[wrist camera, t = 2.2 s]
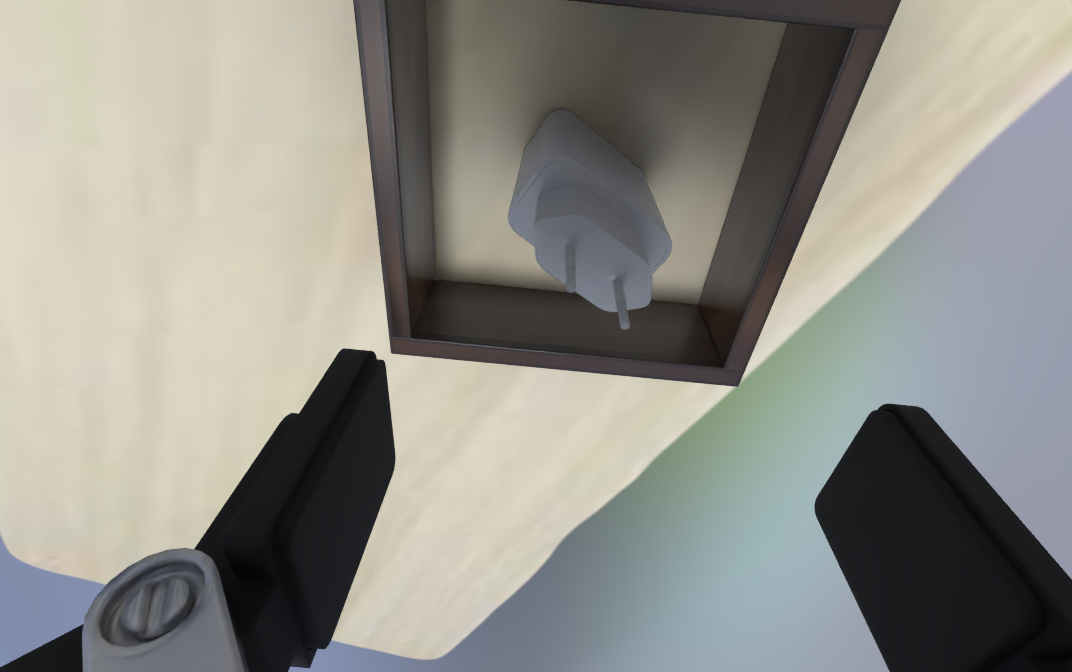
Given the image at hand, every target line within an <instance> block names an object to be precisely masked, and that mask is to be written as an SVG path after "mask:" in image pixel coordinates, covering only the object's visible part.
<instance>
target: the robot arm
mask: <svg viewBox="0 0 1072 672" xmlns="http://www.w3.org/2000/svg"><path fill="white" fill-rule="evenodd" d="M394 467H395V447H394V438H393V429H392V420H391V411H390V401H389V392H388V383H387V374H386V366H385V362H384V360H378V359H376V355H375V353H374V352H373V351H365V350H355V349H345V348H344V349H342V350H341V351H340V352H339V353H338V354H337V356H336V358H335V359H334V361H333V362H332V364H331V365H330V367H329V368H328V370H327V371H326V373H325V374H324V376H323V378H322V379H321V381H320V382H319V384H318V385H317V387H316V388H315V390H314V391H313V393H312V395H311V396H310V398H309V399H308V401H307V402H306V404H305V405H304V407H303V408H302V410H301V411H300V413H299V414H297V413H291V414H289V415H287V416H286V417H285V418H284V419H283V420H282V421H281V422H280V424H279V425H278V427H277V428H276V430H275V431H274V433H273V434H272V436H271V437H270V439H269V440H268V441H267V443H266V444H265V446H264V447H263V449H262V450H261V452H260V453H259V455H258V456H257V458H256V459H255V461H254V462H253V464H252V465H251V467H250V468H249V469H248V471H247V472H246V474H245V475H244V477H243V478H242V480H241V481H240V483H239V484H238V486H237V487H236V489H235V490H234V492H233V493H232V494H231V496H230V497H229V499H228V500H227V502H226V503H225V505H224V506H223V508H222V509H221V511H220V512H219V514H218V515H217V517H216V518H215V519H214V521H213V522H212V524H211V525H210V527H209V528H208V530H207V531H206V533H205V534H204V536H203V537H202V539H201V540H200V542H199V543H198V544H197V546H196V547H195V549H194V550H193V549H188V548H181V549H171V550H165V551H162V552H159V553H156V554H153V555H150V556H147V557H145V558H144V559H142V560H140V561H138V562H136V563H134V564H132V565H131V566H129V567H127V568H126V569H125V570H123V571H122V572H121V573H120V574H118V575H117V576H116V577H115V578H113V579H112V580H111V581H110V582H109V583H108V584H107V585H106V586H105V587H104V589H103V590H102V591H101V592H100V593H99V594H98V595H97V597H95V599H94V601H93V603H92V605H91V606H90V608H89V610H88V612H87V614H86V616H85V620H84V624H83V625H81V626H79V627H77V628H75V629H73V630H71V631H69V632H67V633H65V634H64V635H62V636H60V637H58V638H56V639H54V640H52V641H50V642H48V643H46V644H44V645H42V646H41V647H39V648H37V649H35V650H33V651H31V652H29V653H27V654H25V655H23V656H21V657H20V658H18V659H16V660H14V661H12V662H10V663H8V664H6V665H4V666H2V667H0V672H288V670H289V668H290V666H292V667H303V668H310V666H311V664H312V661H313V658H314V656H315V653H316V651H317V649H326V647H327V646H328V645H329V643H330V641H331V639H332V636H333V634H334V631H335V628H336V626H337V623H338V620H339V618H340V615H341V612H342V610H343V607H344V604H345V601H346V599H347V596H348V593H349V591H350V588H351V585H352V583H353V580H354V577H355V575H356V572H357V569H358V566H359V564H360V561H361V558H362V556H363V553H364V550H365V548H366V545H367V542H368V539H369V537H370V534H371V531H372V529H373V526H374V523H375V521H376V518H377V515H378V512H379V510H380V507H381V504H382V502H383V499H384V496H385V494H386V491H387V488H388V485H389V483H390V480H391V477H392V475H393V471H394ZM815 514H816V517H817V519H818V521H819V523H820V526H821V528H822V530H823V532H824V534H825V536H826V538H827V540H828V542H829V545H830V547H831V549H832V551H833V553H834V555H835V557H836V559H837V561H838V563H839V566H840V568H841V570H842V572H843V574H844V576H845V578H846V580H847V582H848V585H849V587H850V589H851V591H852V593H853V595H854V597H855V599H856V601H857V604H858V606H859V608H860V610H861V612H862V614H863V616H864V618H865V620H866V623H867V625H868V627H869V629H870V631H871V633H872V635H873V637H874V639H875V641H876V643H877V646H878V648H879V650H880V652H881V654H882V656H883V658H884V660H885V662H886V665H887V667H888V669H889V671H890V672H1072V579H1071V578H1070V577H1069V576H1068V575H1067V574H1066V573H1065V571H1064V570H1063V569H1062V568H1061V567H1060V565H1059V564H1058V563H1057V562H1056V561H1055V560H1054V559H1053V558H1052V556H1051V555H1050V554H1049V553H1048V552H1047V550H1046V549H1045V548H1044V547H1043V546H1042V545H1041V544H1040V542H1039V541H1038V540H1037V539H1036V538H1035V536H1034V535H1033V534H1032V533H1031V532H1030V531H1029V530H1028V528H1027V527H1026V526H1025V525H1024V524H1023V523H1022V521H1021V520H1019V518H1018V517H1017V516H1016V514H1015V513H1014V512H1013V511H1012V510H1011V509H1010V507H1009V506H1008V505H1007V504H1006V503H1005V502H1004V501H1003V500H1002V498H1001V497H1000V496H999V495H998V494H997V492H996V491H995V490H994V489H993V488H992V487H991V486H990V484H989V483H988V482H987V481H986V480H985V478H984V477H983V476H982V475H981V474H980V473H979V472H978V470H977V469H976V468H975V467H974V466H973V465H972V463H970V461H969V460H968V459H967V458H966V456H965V455H964V454H963V453H962V452H961V451H960V449H959V448H958V447H957V446H956V445H955V444H954V443H953V442H952V440H951V439H950V438H949V437H948V436H947V434H946V433H945V432H944V431H943V430H942V429H941V427H940V426H939V425H938V424H937V423H936V422H935V421H934V419H933V418H932V417H931V416H930V415H929V413H928V412H926V411H925V410H924V409H923V408H920V407H916V406H907V405H897V404H884V405H882V406H881V407H879V409H878V410H875V411H873V412H871V413H870V414H869V416H868V417H867V419H866V421H865V422H864V424H863V425H862V427H861V428H860V430H859V431H858V433H857V435H856V436H855V438H854V439H853V441H852V442H851V444H850V446H849V447H848V449H847V450H846V452H845V454H844V455H843V457H842V458H841V460H840V462H839V463H838V465H837V467H836V468H835V469H834V471H833V473H832V474H831V476H830V477H829V479H828V481H827V482H826V484H825V485H824V487H823V488H822V490H821V492H820V493H819V495H818V497H817V498H816V501H815Z"/></svg>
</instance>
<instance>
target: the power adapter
mask: <svg viewBox="0 0 1072 672" xmlns="http://www.w3.org/2000/svg"><path fill="white" fill-rule="evenodd" d="M508 219H509V223H510V226H511V227H512V229H513V230H514V231H515V232H516V233H517V234H518V235H519V236H521V237H522V238H524V239H525V240H526V241H528V242H529V243H531V244H532V245H534V246H535V254H536V259H537V262H538V263H539V265H540V266H541V268H543V269H544V270H545V271H546V272H547V273H549V274H550V275H552V276H553V277H555V278H556V279H558V280H559V281H560V282H562V283H563V284H565V285H566V290H567V292H569V293H573V292H576V293H578V294H579V295H581V296H582V297H584V298H585V299H587V300H588V301H590V302H591V303H592V304H594V305H595V306H597V307H598V308H600V309H602V310H605V311H608V312H618V315H619V321H620V327H621V328H622V329H624V330H626V329H629V327H630V322H629V317H628V311H627V310H631V309H638V308H643V307H646V306H647V305H648V304H649V303H650V301H651V290H652V274H653V273H654V272H655V271H656V270H657V269H658V268H659V267H660V266H661V265H662V264H663V263H664V262H665V261H666V260H667V258H668V257H669V255H670V253H671V249H672V242H671V239H670V236H669V234H668V231H667V229H666V227H665V224H664V222H663V219H662V217H661V215H660V212H659V210H658V208H657V205H656V203H655V200H654V198H653V196H652V193H651V191H650V188H649V186H648V184H647V181H646V179H645V176H644V174H643V172H642V171H641V170H640V168H639V167H638V166H636V165H635V164H634V163H633V162H631V161H630V160H629V159H628V158H627V157H625V156H624V155H623V154H622V153H621V152H619V151H618V150H617V149H616V148H615V147H613V146H612V145H611V144H610V143H609V142H607V141H606V140H605V139H604V138H602V137H601V136H600V135H599V134H598V133H596V132H595V131H594V130H593V129H592V128H590V127H589V126H588V125H587V124H586V123H584V122H583V121H582V120H581V119H580V118H578V117H577V116H576V115H575V114H573V113H572V112H570V111H569V110H566V109H557V110H555V111H553V112H551V113H550V114H549V115H548V116H547V117H546V119H545V120H544V122H543V123H542V124H541V126H540V127H539V129H538V130H537V131H536V133H535V134H534V136H533V137H532V139H531V140H530V141H529V143H528V144H527V146H526V147H525V149H524V153H523V157H522V161H521V165H520V169H519V173H518V177H517V181H516V185H515V189H514V193H513V197H512V201H511V205H510V209H509V215H508Z"/></svg>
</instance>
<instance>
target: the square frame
mask: <svg viewBox="0 0 1072 672" xmlns="http://www.w3.org/2000/svg"><path fill="white" fill-rule="evenodd" d="M568 1H578V2H588V3H598V4H608V5H617V6H627V7H637V8H647V9H657V10H666V11H676V12H686V13H696V14H706V15H715V16H725V17H735V18H745V19H755V20H764V21H774V22H784V23H788V26H787V29H786V32H785V35H784V38H783V42H782V45H781V48H780V51H779V54H778V57H777V60H776V64H775V67H774V70H773V73H772V76H771V79H770V82H769V85H768V89H767V92H766V95H765V98H764V101H763V104H762V107H761V110H760V114H759V117H758V120H757V123H756V126H755V129H754V132H753V135H752V139H751V142H750V145H749V148H748V151H747V154H746V157H745V160H744V164H743V167H742V170H741V173H740V176H739V179H738V182H737V185H736V189H735V192H734V195H733V198H732V201H731V204H730V207H729V211H728V214H727V217H726V220H725V223H724V226H723V229H722V232H721V236H720V239H719V242H718V245H717V248H716V251H715V254H714V257H713V261H712V264H711V267H710V270H709V273H708V276H707V279H706V282H705V286H704V289H703V292H702V295H701V298H700V301H699V304H698V305H699V306H696V305H686V304H676V303H665V302H655V301H650V303H649V304H648V305H647V306H646V307H643V308H638V309H631V310H627V311H628V317H629V322H630V327H629V329H626V330H624V329H622V328H621V327H620V321H619V315H618V312H608V311H605V310H602V309H600V308H598V307H597V306H595V305H594V304H592V303H591V302H590V301H588V300H587V299H585V298H584V297H582V296H581V295H579V294H573V293H562V292H552V291H542V290H531V289H521V288H511V287H501V286H490V285H480V284H470V283H459V282H449V281H439V280H435V256H434V230H433V203H432V177H431V151H430V125H429V98H428V72H427V46H426V20H425V0H353V2H354V11H355V21H356V30H357V39H358V49H359V58H360V67H361V77H362V86H363V95H364V105H365V114H366V123H367V133H368V142H369V151H370V161H371V170H372V180H373V189H374V198H375V208H376V217H377V226H378V236H379V245H380V254H381V264H382V273H383V282H384V292H385V301H386V310H387V320H388V329H389V338H390V348H391V353H392V354H402V355H412V356H423V357H433V358H443V359H454V360H464V361H475V362H485V363H496V364H506V365H517V366H527V367H537V368H548V369H558V370H569V371H579V372H590V373H600V374H611V375H621V376H631V377H642V378H652V379H663V380H673V381H684V382H694V383H705V384H715V385H725V386H736V387H737V386H739V383H740V381H741V379H742V376H743V374H744V371H745V369H746V367H747V364H748V362H749V360H750V357H751V355H752V353H753V350H754V348H755V345H756V343H757V341H758V338H759V336H760V334H761V331H762V329H763V326H764V324H765V322H766V319H767V317H768V315H769V312H770V310H771V307H772V305H773V303H774V300H775V298H776V296H777V293H778V291H779V288H780V286H781V284H782V281H783V279H784V277H785V274H786V272H787V269H788V267H789V265H790V262H791V260H792V258H793V255H794V253H795V250H796V248H797V246H798V243H799V241H800V239H801V236H802V234H803V231H804V229H805V227H806V224H807V222H808V220H809V217H810V215H811V212H812V210H813V208H814V205H815V203H816V201H817V198H818V196H819V193H820V191H821V189H822V186H823V184H824V182H825V179H826V177H827V174H828V172H829V170H830V167H831V165H832V163H833V160H834V158H835V155H836V153H837V151H838V148H839V146H840V144H841V141H842V139H843V136H844V134H845V132H846V129H847V127H848V125H849V122H850V120H851V117H852V115H853V113H854V110H855V108H856V106H857V103H858V101H859V98H860V96H861V94H862V91H863V89H864V87H865V84H866V82H867V80H868V77H869V75H870V72H871V70H872V68H873V65H874V63H875V61H876V58H877V56H878V53H879V51H880V49H881V46H882V44H883V42H884V39H885V37H886V34H887V32H888V30H889V27H890V25H891V23H892V20H893V18H894V15H895V13H896V11H897V8H898V6H899V4H900V1H901V0H568Z"/></svg>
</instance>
